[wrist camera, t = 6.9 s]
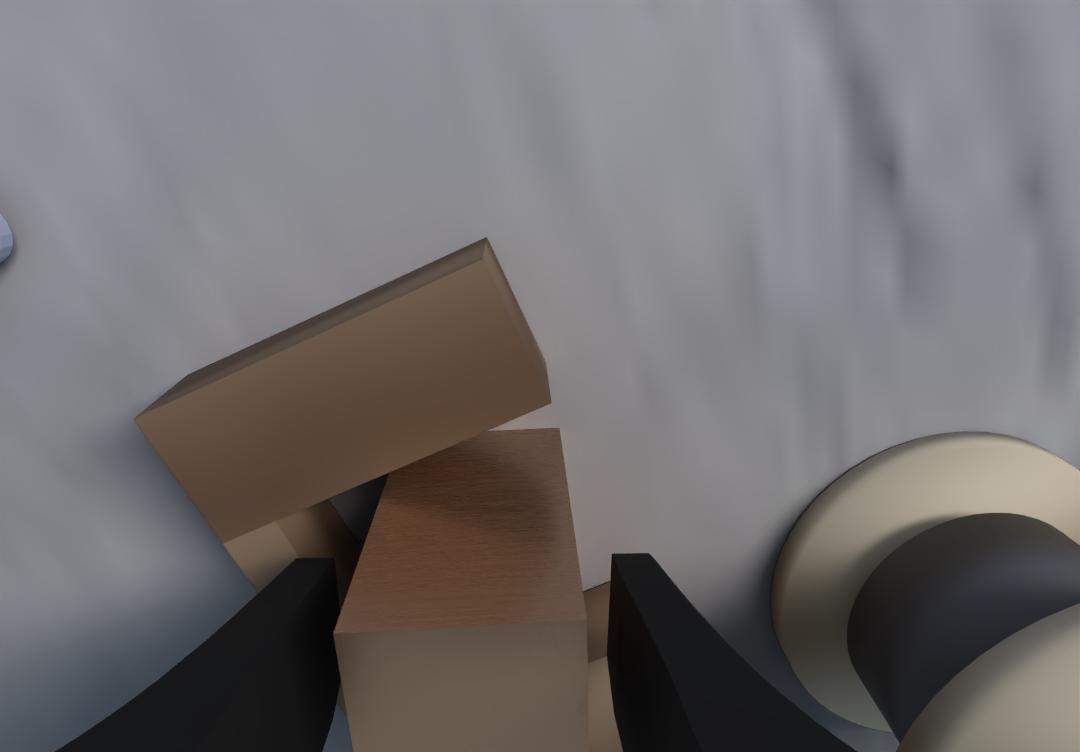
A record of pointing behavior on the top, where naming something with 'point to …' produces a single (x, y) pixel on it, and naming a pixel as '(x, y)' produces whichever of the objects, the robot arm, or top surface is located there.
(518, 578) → the brown wooden block
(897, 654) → the spool
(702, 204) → the top surface
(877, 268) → the top surface
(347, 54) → the top surface
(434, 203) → the top surface
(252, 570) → the notched board
